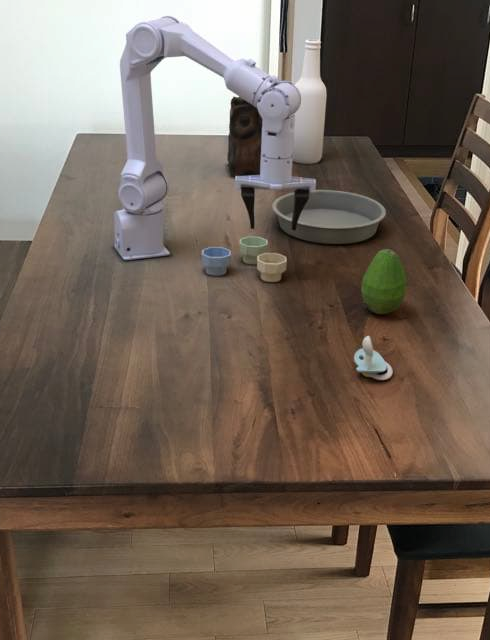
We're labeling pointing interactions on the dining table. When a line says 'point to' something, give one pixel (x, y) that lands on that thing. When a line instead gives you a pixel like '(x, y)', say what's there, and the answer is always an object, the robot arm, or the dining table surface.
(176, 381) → the dining table surface
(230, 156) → the owl
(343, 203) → the cake pan
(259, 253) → the celadon bowl
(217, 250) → the blue bowl
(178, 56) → the robot arm
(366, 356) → the pacifier
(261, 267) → the ivory bowl
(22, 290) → the dining table surface
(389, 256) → the avocado
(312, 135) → the alcohol
